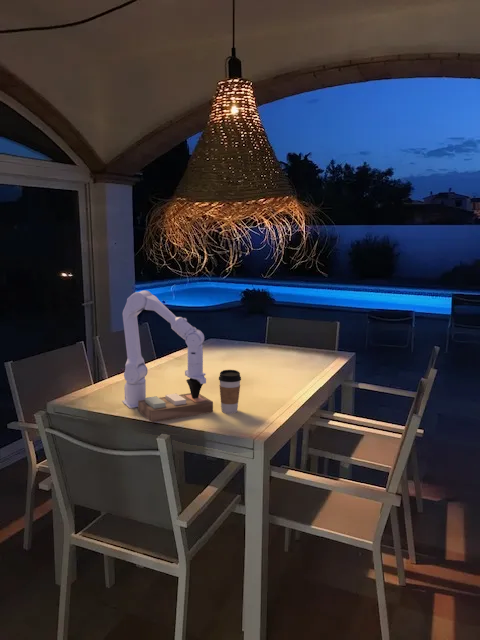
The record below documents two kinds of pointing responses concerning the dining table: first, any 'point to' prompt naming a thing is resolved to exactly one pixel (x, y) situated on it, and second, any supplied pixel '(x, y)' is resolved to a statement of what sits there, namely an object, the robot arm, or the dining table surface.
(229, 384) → the coffee cup
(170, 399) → the cream button
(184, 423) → the dining table surface
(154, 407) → the sage button
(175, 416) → the button board
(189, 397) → the terracotta button
